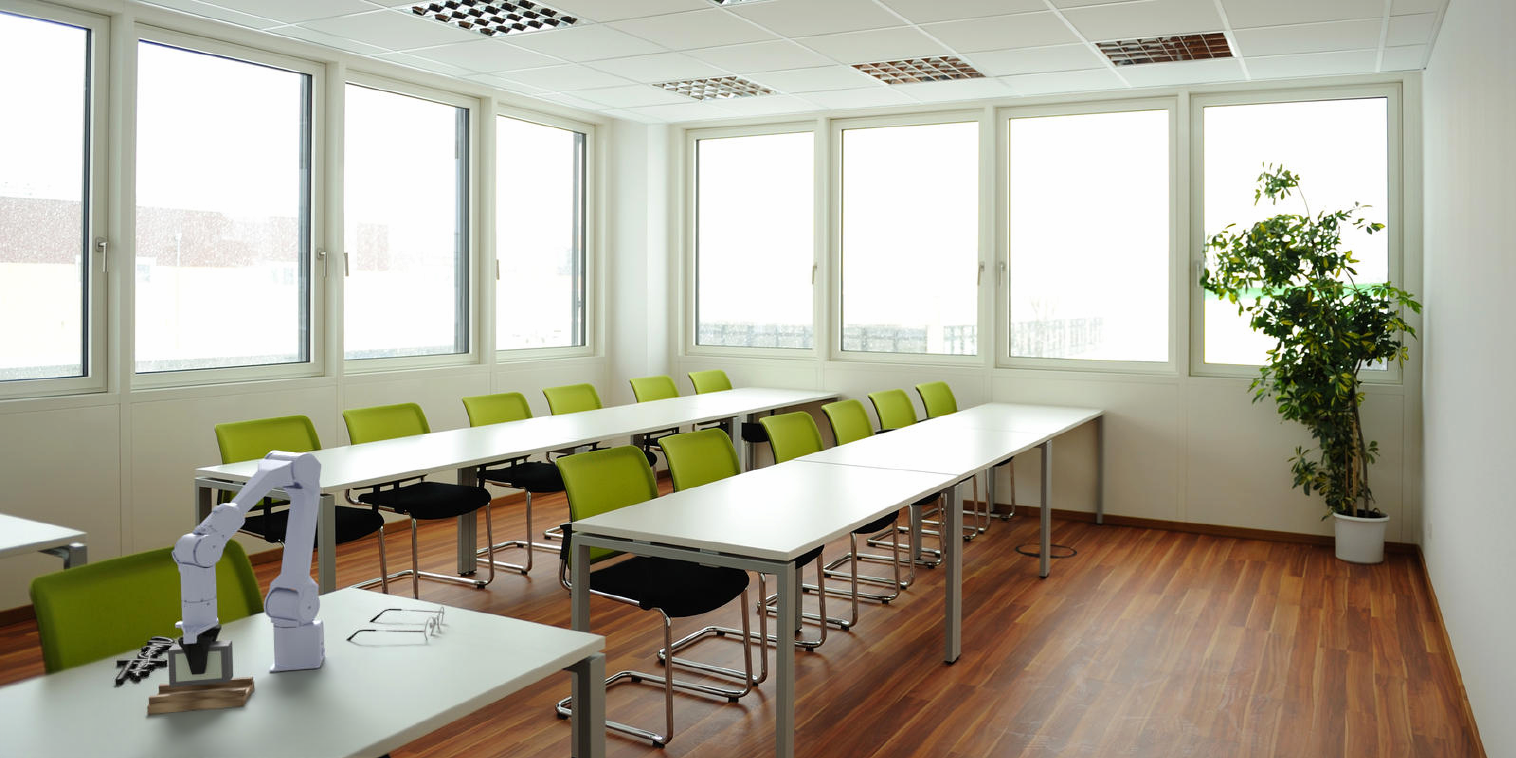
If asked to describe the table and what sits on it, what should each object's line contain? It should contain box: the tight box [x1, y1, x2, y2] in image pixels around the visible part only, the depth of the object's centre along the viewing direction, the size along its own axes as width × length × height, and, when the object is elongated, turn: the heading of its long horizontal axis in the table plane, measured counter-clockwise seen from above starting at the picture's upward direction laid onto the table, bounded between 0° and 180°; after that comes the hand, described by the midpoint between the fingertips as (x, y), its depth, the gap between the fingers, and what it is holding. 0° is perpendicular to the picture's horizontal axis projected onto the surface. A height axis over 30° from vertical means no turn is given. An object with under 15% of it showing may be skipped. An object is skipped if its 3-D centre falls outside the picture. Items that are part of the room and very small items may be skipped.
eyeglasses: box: [346, 605, 445, 641], centre depth 236 cm, size 16×19×5 cm
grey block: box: [167, 639, 234, 687], centre depth 193 cm, size 10×4×7 cm, turn 105°
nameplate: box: [115, 635, 177, 686], centre depth 215 cm, size 28×2×10 cm
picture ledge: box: [146, 676, 255, 715], centre depth 194 cm, size 16×9×3 cm, turn 105°
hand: (201, 669), depth 193 cm, fingers closed on grey block, 4 cm apart
